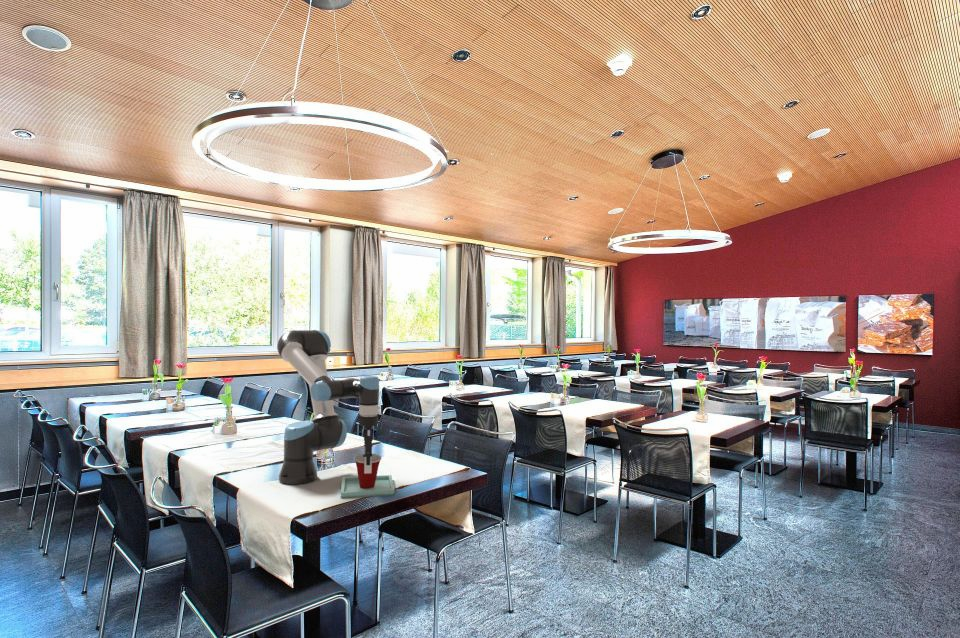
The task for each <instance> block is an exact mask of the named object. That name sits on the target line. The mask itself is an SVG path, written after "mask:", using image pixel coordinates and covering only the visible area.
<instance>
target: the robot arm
mask: <svg viewBox="0 0 960 638" xmlns="http://www.w3.org/2000/svg"><path fill="white" fill-rule="evenodd" d="M277 341H278V342H277V345H276V348H277V353H278V355H279V357H280V358H281V359H282V360H283V361H284V362H287V363H289V364H290V365H291V366H292V368H293V369H294V370H296V372H297V373H298V374H299V375H300V376H301V377H302V379H304V381H305V382H306V383H307V384H308V387H309V393H310V399H311V406H312V410H313V411H312V412H313V417H312V420H300V421H295V422H291V423H290V424H288V425H286V427H285V429H284V434H283V463H282V466H281V468H280V472H279V474H278V481H280V482H279V483H281V482H282V483H281V484H284V483H286V484H285V485H303V483H304V484H308V482H309V483H311V482H314V481H316V480H317V479H318V471H317V468H316V465H315V464H316V463H315V461H314V452H318V451H323V450H329V449H331V450H332V449H335V448H338V447H341V446H343V445H344V442H346V438H347V434H348V429H347V424H346V423H345V421H344V420H343V419H340V416H339V414H338V413H336V412H335V409H334V403H333V401H335V400H341V399H344V400H345V399H351V398H354V399H355V398H356V399H359V403H358V415H359V416H358V425H359V426H361V427H364V428H363V429H362V430H363V431H362V432H363V441H364V442H363V444H364V448H363V454H365V455H363V457H365V463H364V474H366V473H371V471H372V454H373V452H372V451H373V440H374V434H375V433H374V428H372V427H374V426H375V427H376V426H378V425H379V415H378V414H379V410H380V408H381V407H380V406H379V403H380V401H379V400H380V379H379V377H378V376H377V375H362V376H360V377H359V379H358V378H354V377H353V378H352V377H351V378H350V377H348V378H344V379H340V380H339V379H337V380H332V379H331V378H330V377H329V376H328V371H327V365H326V360H327V359H328V355H329V354H330V351H331V347H332V343H331V339H330V337H329V335H328V334H327V333H326V332H325V331H323V330H316V329H312V330H311V329H310V330H307V329H306V330H302V329H300V330H297V329H296V330H295V329H293V330H289V331H287V332H285V333H283V334H282V335H281V336H280V337H279V339H278V340H277Z"/></svg>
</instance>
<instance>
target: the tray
mask: <svg viewBox="0 0 960 638" xmlns="http://www.w3.org/2000/svg"><path fill="white" fill-rule="evenodd" d="M385 496H388V497H389V496H395V486H394V481H393V476H392V474H388V475H387V474H385V475H384V474H383V475H377V477H376V481H375V485H374V487H373V488H369V489H363V488H360V485H359V479H358V476H343V477H342V478H341V487H340V499H347V498H348V499H349V498H363V497H364V498H365V497H366V498H367V497H369V498H370V497H385Z"/></svg>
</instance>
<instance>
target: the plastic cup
mask: <svg viewBox="0 0 960 638" xmlns="http://www.w3.org/2000/svg"><path fill="white" fill-rule="evenodd" d="M363 455H365V454H364V453H360V454H356V455H355V456H354V457H353V460H354V462H355V466H356V471H357V477H358V479H359V485H360V488H363V489H369V488H373V487H374V485H375V481H376V477H377V476H378V472H379V466H380V462H381V460H382V456H381V455H380V454H376V453H372V471H371V473H366V474H364V463H365V457H363Z"/></svg>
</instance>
